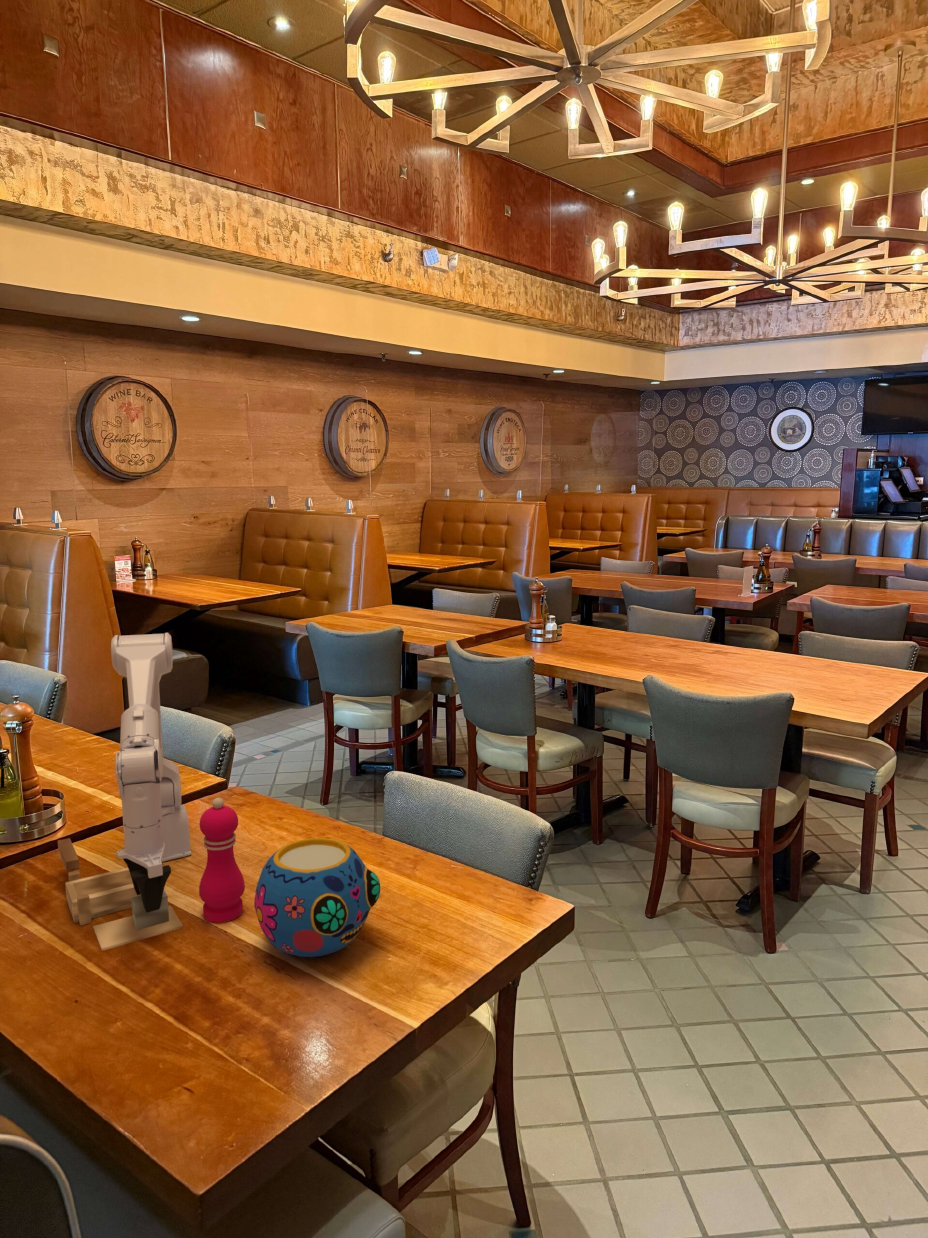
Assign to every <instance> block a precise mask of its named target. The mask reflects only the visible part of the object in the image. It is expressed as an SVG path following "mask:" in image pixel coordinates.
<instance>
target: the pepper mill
mask: <svg viewBox="0 0 928 1238" xmlns="http://www.w3.org/2000/svg"><path fill="white" fill-rule="evenodd" d="M224 802H225V801H224V799H223V798H221V797H215V798H214V799H213V800H212V804H211V805H212V806H211V807H209V808H207V809H206V810H204V812H203V813H202V815H201V816H200V818H199V819H200V820H199V830H200V832H201V834H202V835H204V837H203V846H204V848H205V849H206V851H207V854H206V855H207V859H206V861H207V862H206V865H205V869H204V871H203V874H202V876H201V878H200V881H199V887H198V895H199V898H200V899H201V901H202V902H203V905H202V912H203V913H202V915H203V918H204V919H205V920H206V921H208V922H211V923H215V924H216V923H217V924H221V923H228V922H231V921H233V920H235V919H237V918H239V917H240V916H241V915H242V913H243V912H244V911H243V910H244V906H243V905H244V904H243V899H242V896H243V895H244V893H245V889H246V884H245V879H244V876H243V873H242V871H241V869H240V867H239V866H238V864H237V861H236V859H235V853H234V846H235V845H236V843H237V839H236V836H237V834H236V833H235V831H236V830H237V828H238V826H239V817H238V813H236V810H235V809H234V808H232V807H231V806H228V805H225V803H224Z"/></svg>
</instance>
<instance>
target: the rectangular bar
mask: <svg viewBox="0 0 928 1238" xmlns="http://www.w3.org/2000/svg"><path fill="white" fill-rule="evenodd" d="M57 847H58V848H57V850H58V852H59V855H60V859H61V860H62V864H63V866H64V869H65V871H66V873H69V872H73V871H77V870H80V860H79V857H78V854H77V852H76V850H75V847H74V845H73V843H72V840H71V838H65V839H64V838H63V839H58V840H57Z"/></svg>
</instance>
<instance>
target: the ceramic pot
mask: <svg viewBox="0 0 928 1238" xmlns="http://www.w3.org/2000/svg"><path fill="white" fill-rule="evenodd" d="M380 882H381V881H380V879H379V877H378V875H377V874H376V873H375V872H374V871H372V870H371V869H369V868H368V867H367V866H366V864H365V863H364V862H363V860H362V858H361V856H359V855H358V853H357V852H356V851H355V849H353V848H352V847H350V846H349V845H347V844H346V843H344V842H342V841H341V840H336V839H333V838H325V837H315V838H314V837H313V838H312V837H311V838H305V839H299V840H296V841H292V842H290V843H287V844H286V845H284V846H281V847H280V848H279V849H277V850H276V851H275V852H274V853H273V854H272V855H271V856H270V857H269V858H268V860H267V861H266V862H265V864H264V865H263V868H262V870H261V871H260V875H259V878H258V881H257V884H256V888H255V894H254V899H253V900H254V905H253V906H254V909H255V914H256V917H257V920H258V924H259V927H260V930H261V932H262V933H263V935H264V936H265V937H266V938H267V940H268V941H269V942H270V943H271V944H272V946H273V947H275V948H276V949H278V950H280V951H281V952H282V953H285V954H286V955H287V954H288V955H292V956H295V957H296V956H297V957H301V958H315V957H322V956H327V955H331V954H332V953H333V954H334V953H336V952H338V951H340V950H342V949H343V948H345V947H347V946H348V945H349V944H351V943H352V942H353V941H354V940H355V939H356V938H357V936H358V935H359V933H360V932H361V930H363V929H362V928H363V927H364V925H365V923H366V921H367V918H368V917H369V913H370V911H371V910H372V908H373V907H374V906H375V905H376V904H377V902H378V900H379V898H380V895H381V883H380Z"/></svg>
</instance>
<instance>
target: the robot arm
mask: <svg viewBox="0 0 928 1238" xmlns="http://www.w3.org/2000/svg"><path fill="white" fill-rule="evenodd" d="M110 641H111V644H110V645H111V646H110V647H111V648H110V650H111V651H110V655H111V664H112V668H113V669H114V670H115V672H116V673H117V674H118V675H119V676H122V677H124V678H125V677H126V681H127V682H126V683H127V695H128V706H129V707H128V708H127V709H125V710H124V711H123V712H122V714H121V716H120V738H119V739H120V741H119V752H118V751H117V752H116V753H115V763H114V765H115V766H114V767H115V779H116V781H117V786H118V795H119V799H120V798H121V811H122V827H123V841H124V843H123V844H124V848H123V849H120V850H119V849H118V850H117V851H116V856H117V859H119V860H123V861H124V863H125V864H126V866H127V867H126V868H128V869H129V872H130V875H131V878H132V882H133V886H134V889H135V892H136V894H137V895H140V894H141V898H142V902H143V906H144V909H145V911H146V913H148V912H151V911H155V910H159V909H160V906H161V902H162V896H163V891H165V886H166V883H167V882H168V879H169V877H170V875H171V873H172V867H171V866H170V864H168V865H167V864H166V865H163V862H166V861H171V860H174V859H179V858H183V857H187V856H190V855H192V850H191V838H190V837H191V836H190V821H189V815H188V811H187V808H186V806H185V804H182V783H181V782H182V781H181V775H180V767H178V765H177V764H176V763H174V762H172V761H170V760H169V759H167V758H165V757H164V748H163V732H162V731H163V730H162V717H161V716H162V715H161V697H160V695H161V694H160V681H161V679H162V676H164V675H166V674H169V673H171V672H172V669H173V668H174V667H173V664H174V663H173V662H174V661H173V659H174V657H173V641H172V636H171V634H170V633H169V632H164V633H152V634H151V633H150V634H130V635H118V634H115V635H114V636H113V637H111V640H110Z"/></svg>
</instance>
